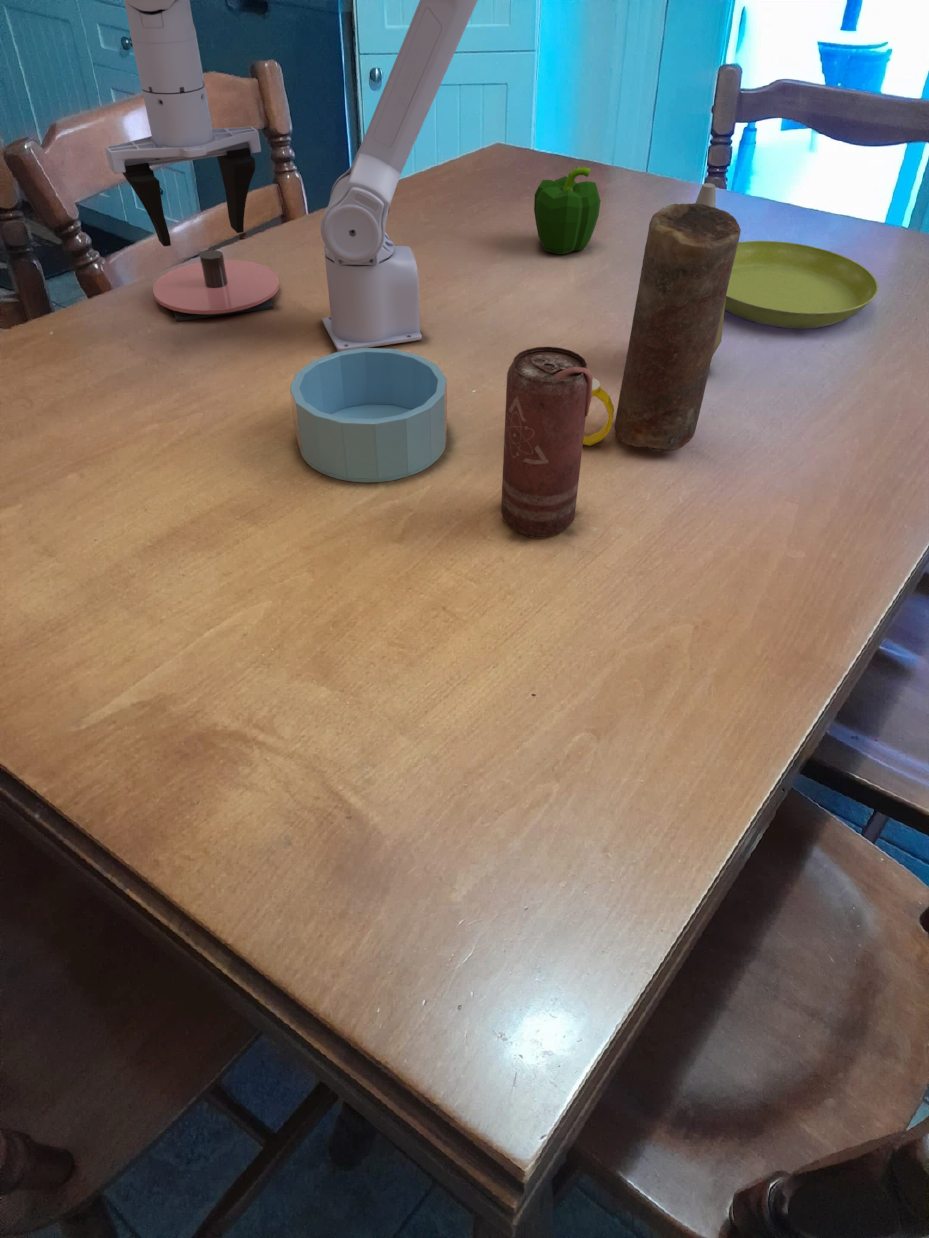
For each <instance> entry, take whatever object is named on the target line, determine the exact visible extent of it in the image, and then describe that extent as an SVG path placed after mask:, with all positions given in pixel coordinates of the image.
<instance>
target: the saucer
mask: <svg viewBox="0 0 929 1238" xmlns="http://www.w3.org/2000/svg"><path fill="white" fill-rule="evenodd" d="M878 292H879V283H878V281H877V279H876V277H875V276H874V275H873V273H871V272H870V271H869V270H868V269H867V268H866V267H864V266H863V265H862V264H861V263H859V262H857V261H855V260H853V259H851V258H849V257H846V256H844V255H841V254H839V253H837V252H833V251H831V250H827V249H823V248H820V247H815V246H811V245H807V244H801V243H795V242H788V241H779V240H778V241H777V240H746V241H739V242H738V245H737V249H736V254H735V259H734V263H733V267H732V271H731V276H730V280H729V285H728V289H727V294H726V302H725V311H727V312H728V313H730V314H732V315H735V316H737V317H738V318H741V319H743V320H746V321H750V322H752V323H756V324H760V325H764V326H765V325H766V326H769V327H776V328H783V329H816V328H823V327H828V326H831V325H834V324H837V323H840V322H842V321H844V320H846V319H848V318H850V317H853V316H854V315H856V314H857V313H859V312H861V310H863V309H864V308H866V306H868V305H869V304H870V303H871V302H872V301H873V300H874V299H876V297H877V295H878Z"/></svg>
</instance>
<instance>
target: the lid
mask: <svg viewBox="0 0 929 1238" xmlns="http://www.w3.org/2000/svg"><path fill="white" fill-rule="evenodd" d="M199 260H200V261H199V262H193V263H189V264H186V265H182V266H180V267H176V268H174V269H172V270H170V271H167V272H166V273H164V274H162V275H161V276H160V277H159V278H158V279H157V280H156V281H155V282H154V284H153V286H152V295H153V298H154V300H155V301H156V302H157V303H158V304H159V305H160V306H163V307H164V308H167V309H169V310H172V311H174V310H175V311H179V312H183V313H190V314H220V313H229V312H235V311H239V310H244V309H247V308H250V307H253V306H256V305H258V304H261V303H263V302H265V301H267V300H268V299H270V300H271V298H273V297H274V296H275V295H276V294H277V292H278V291H279V290H280V287H281V282H280V276H279V275H278V273H277V272H276V271H275V270H273V269H272V268H270V267H268V266H266V265H264V264H261V263H257V262H253V261H249V260H241V259H224V253H223V252H222V251H220V250H216V249H215V250H211V249H209V250H206V251H203V252H201V253H199Z"/></svg>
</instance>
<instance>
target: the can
mask: <svg viewBox="0 0 929 1238" xmlns="http://www.w3.org/2000/svg"><path fill="white" fill-rule="evenodd" d="M593 378H594V377H593V375H592V373H591V371H590V370H589V368H588V363H587V362H586V359H585V358H584V357H583V356H581V354H579V353H577V352H575V351H573V350H570V349H567V348H562V347H556V346H536V347H532V348H526V349H525V350H522V351H520V352H519V353H517V354H516V355H515V356H514V357H513V360H512V362H511V364H510V365H509V367H508V369H507V373H506V389H505V390H506V391H505V392H506V393H505V410H504V411H505V412H504V413H505V414H504V415H505V416H504V435H503V436H504V437H503V438H504V439H503V457H502V459H503V460H502V479H501V480H502V481H501V500H500V501H501V502H500V503H501V504H500V514H501V516H502V519H503V520H504V522H505V523H506V524H507V526H508V527H509V528H510V529H511V530H512V531H514V532H516V533H517V534H519V535H522V536H525V537H528V538H530V537H531V538H536V539H537V538H538V539H542V538H550V537H554V536H557V535H559V534H561V533H563V532H564V531H567V529H568V528H569V527H570V526H571V524H573V522H574V521H575V515H576V509H577V500H578V491H579V490H578V489H579V483H580V482H579V481H580V473H581V464H582V454H583V446H584V444H583V438H584V435H585V430H586V419H587V417H588V414H589V410H590V406H591V402H592V398H593V397H592V379H593Z"/></svg>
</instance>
